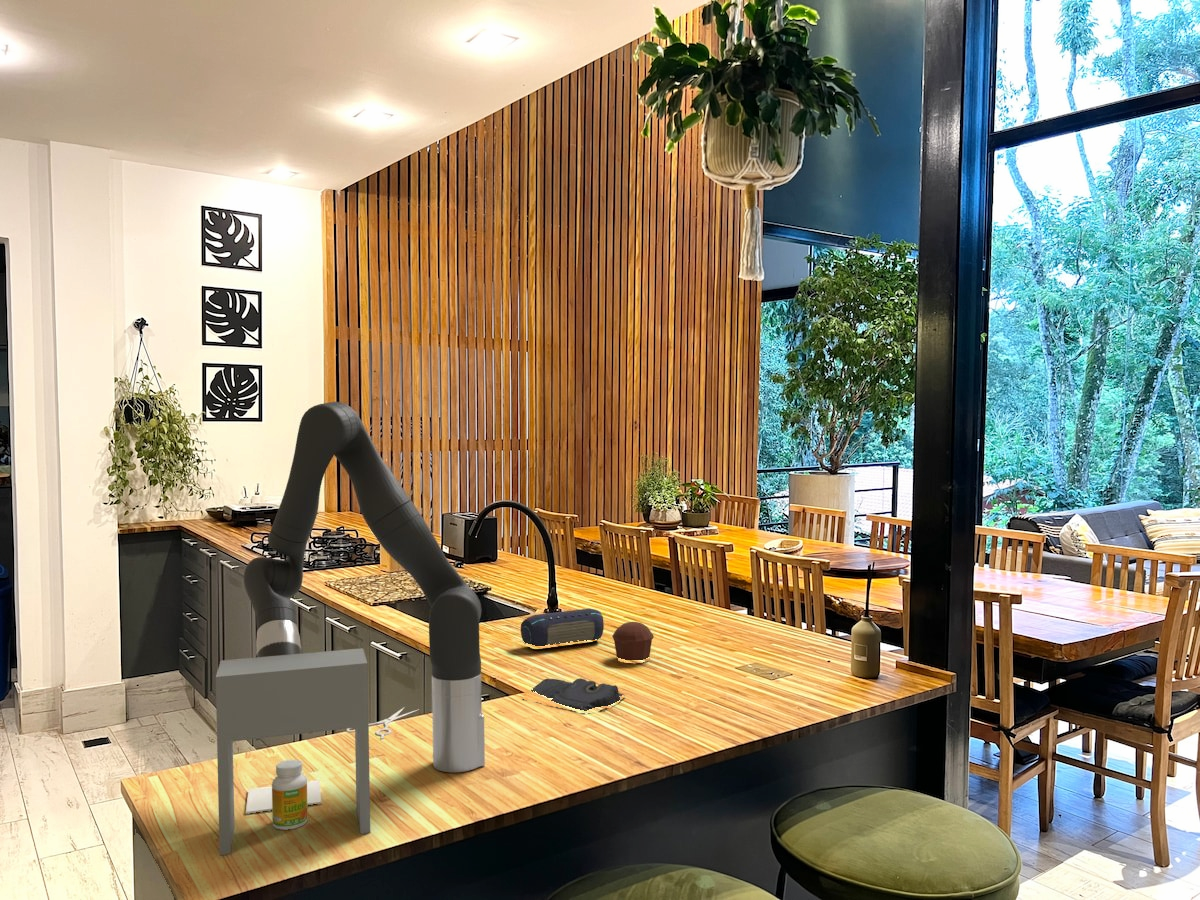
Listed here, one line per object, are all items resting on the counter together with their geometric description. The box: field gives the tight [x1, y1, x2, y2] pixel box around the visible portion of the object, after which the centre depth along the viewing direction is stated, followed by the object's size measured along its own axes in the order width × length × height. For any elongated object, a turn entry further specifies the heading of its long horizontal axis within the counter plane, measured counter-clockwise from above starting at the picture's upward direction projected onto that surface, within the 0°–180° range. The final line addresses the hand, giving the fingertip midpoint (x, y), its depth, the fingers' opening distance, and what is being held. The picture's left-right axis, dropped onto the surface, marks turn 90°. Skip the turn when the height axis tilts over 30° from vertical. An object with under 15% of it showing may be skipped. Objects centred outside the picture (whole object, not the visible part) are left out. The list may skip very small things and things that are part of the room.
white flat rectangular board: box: [245, 779, 322, 815], centre depth 156 cm, size 12×10×1 cm
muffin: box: [611, 621, 655, 660], centre depth 245 cm, size 12×11×10 cm
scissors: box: [346, 707, 420, 740], centre depth 196 cm, size 11×1×20 cm
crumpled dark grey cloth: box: [530, 678, 624, 711], centre depth 211 cm, size 15×22×5 cm
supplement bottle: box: [271, 759, 309, 831], centre depth 146 cm, size 5×5×10 cm
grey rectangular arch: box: [215, 647, 371, 856], centre depth 144 cm, size 22×11×27 cm, turn 109°
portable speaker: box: [520, 608, 605, 646], centre depth 262 cm, size 25×10×10 cm, turn 119°
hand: (285, 734), depth 152 cm, fingers open, 8 cm apart
